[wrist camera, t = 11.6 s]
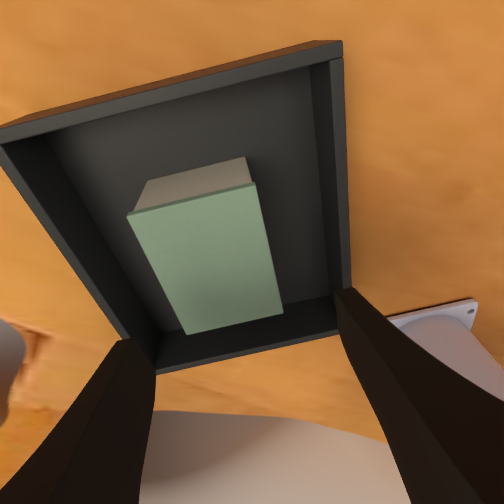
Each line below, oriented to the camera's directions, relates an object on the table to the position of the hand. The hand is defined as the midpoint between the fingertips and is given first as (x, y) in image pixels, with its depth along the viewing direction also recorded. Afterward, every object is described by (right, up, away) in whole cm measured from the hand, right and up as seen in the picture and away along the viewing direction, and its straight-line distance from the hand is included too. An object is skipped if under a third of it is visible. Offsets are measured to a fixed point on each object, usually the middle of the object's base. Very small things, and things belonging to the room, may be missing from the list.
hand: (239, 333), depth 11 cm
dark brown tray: (-2, +5, +7) cm, 8 cm away
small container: (-2, +4, +6) cm, 8 cm away
